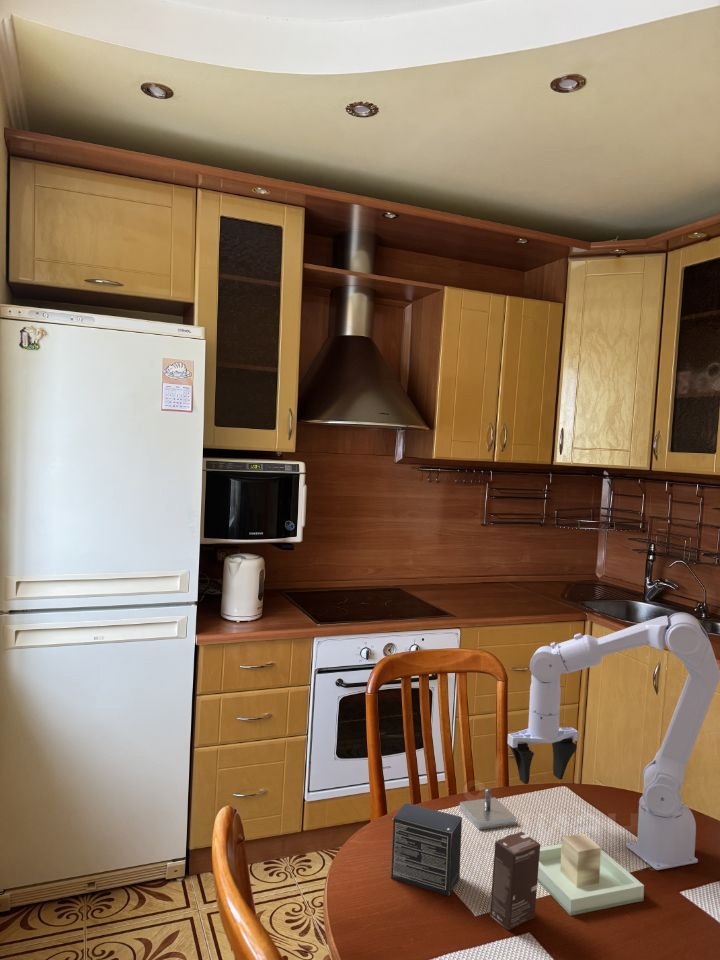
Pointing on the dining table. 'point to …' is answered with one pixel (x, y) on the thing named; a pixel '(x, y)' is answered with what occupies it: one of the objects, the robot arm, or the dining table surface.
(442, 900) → the dining table surface
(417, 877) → the small box
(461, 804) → the silver peg base
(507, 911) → the box
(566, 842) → the birch block
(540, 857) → the tray
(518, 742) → the robot arm
